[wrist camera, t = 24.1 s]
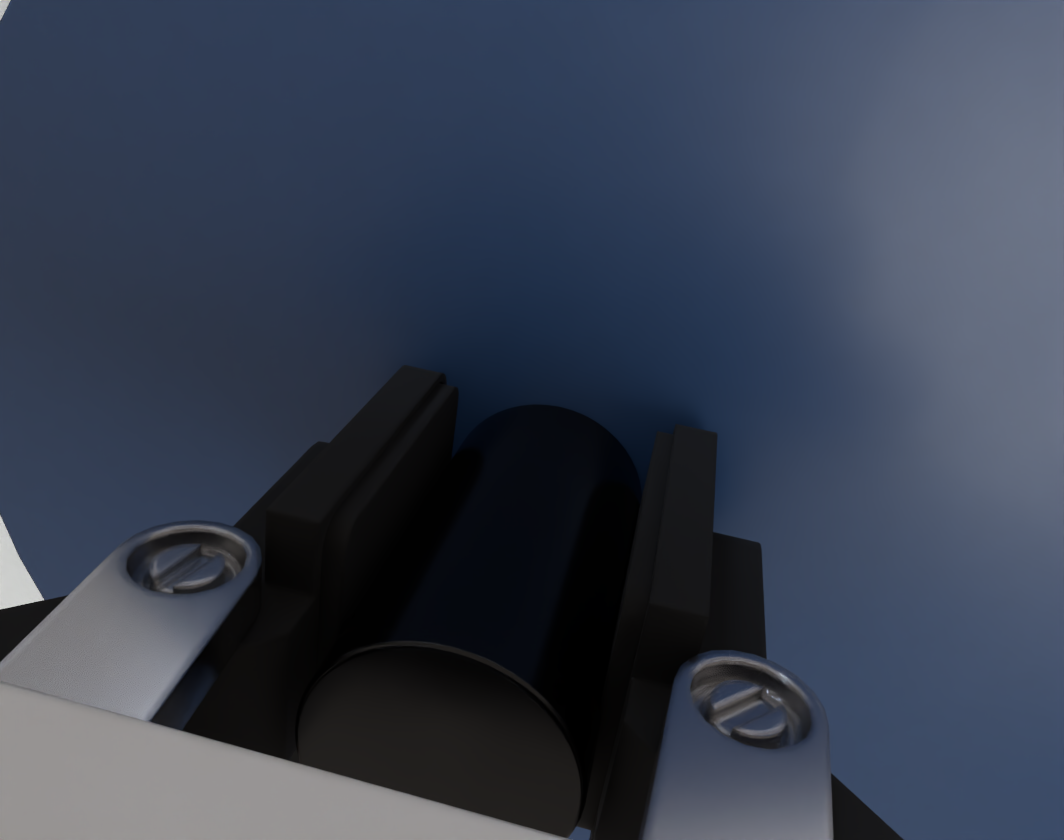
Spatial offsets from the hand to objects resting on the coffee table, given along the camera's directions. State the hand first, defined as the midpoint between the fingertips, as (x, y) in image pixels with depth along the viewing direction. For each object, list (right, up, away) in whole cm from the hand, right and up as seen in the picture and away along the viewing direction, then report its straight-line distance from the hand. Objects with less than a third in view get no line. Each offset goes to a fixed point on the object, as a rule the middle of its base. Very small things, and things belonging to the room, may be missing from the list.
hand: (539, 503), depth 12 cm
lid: (0, 0, +1) cm, 1 cm away
